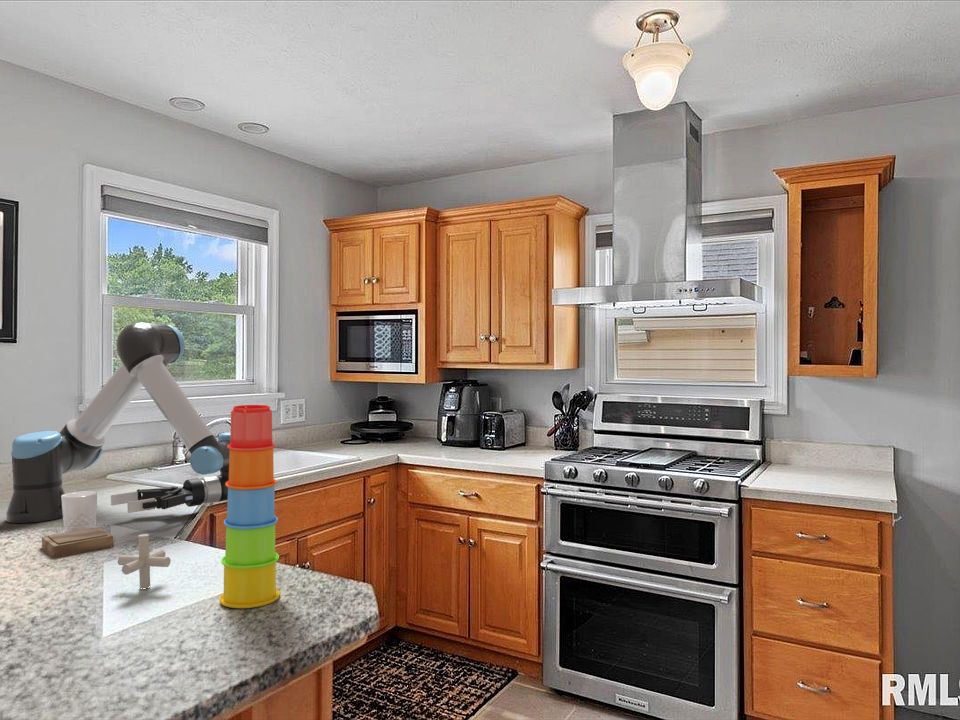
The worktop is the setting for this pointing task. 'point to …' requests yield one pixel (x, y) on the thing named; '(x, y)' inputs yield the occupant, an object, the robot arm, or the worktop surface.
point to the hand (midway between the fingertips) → (119, 503)
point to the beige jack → (143, 561)
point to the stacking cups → (250, 511)
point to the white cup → (79, 510)
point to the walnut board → (77, 542)
